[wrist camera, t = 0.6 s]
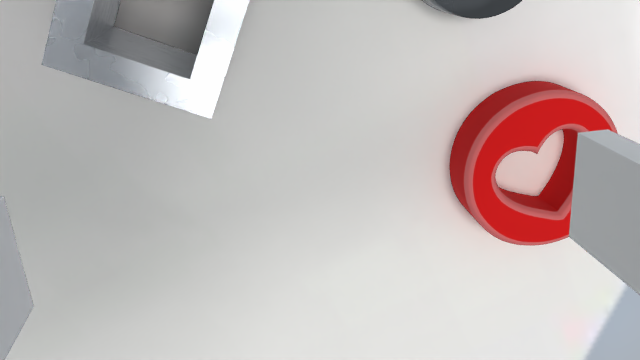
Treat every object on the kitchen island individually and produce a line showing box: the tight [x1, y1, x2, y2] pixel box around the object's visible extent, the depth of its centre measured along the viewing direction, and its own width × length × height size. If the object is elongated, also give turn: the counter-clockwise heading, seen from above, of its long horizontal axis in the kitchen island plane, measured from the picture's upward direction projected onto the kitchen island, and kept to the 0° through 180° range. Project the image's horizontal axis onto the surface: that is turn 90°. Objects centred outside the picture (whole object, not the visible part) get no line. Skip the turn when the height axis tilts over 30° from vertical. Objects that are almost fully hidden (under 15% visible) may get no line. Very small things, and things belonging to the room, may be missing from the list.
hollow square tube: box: [42, 0, 249, 119], centre depth 29 cm, size 7×7×7 cm
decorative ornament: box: [450, 81, 618, 245], centre depth 37 cm, size 10×10×3 cm
